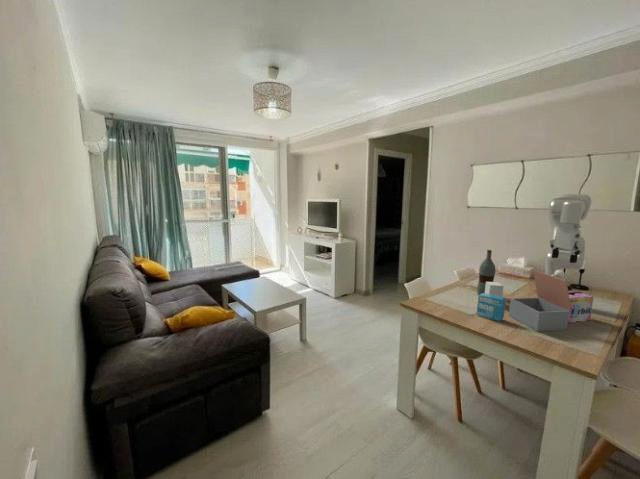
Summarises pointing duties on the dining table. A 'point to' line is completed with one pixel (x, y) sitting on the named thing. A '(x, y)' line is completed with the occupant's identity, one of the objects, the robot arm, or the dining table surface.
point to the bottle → (486, 273)
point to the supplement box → (494, 289)
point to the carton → (539, 314)
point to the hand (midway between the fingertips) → (563, 260)
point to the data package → (491, 307)
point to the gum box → (580, 307)
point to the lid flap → (553, 288)
